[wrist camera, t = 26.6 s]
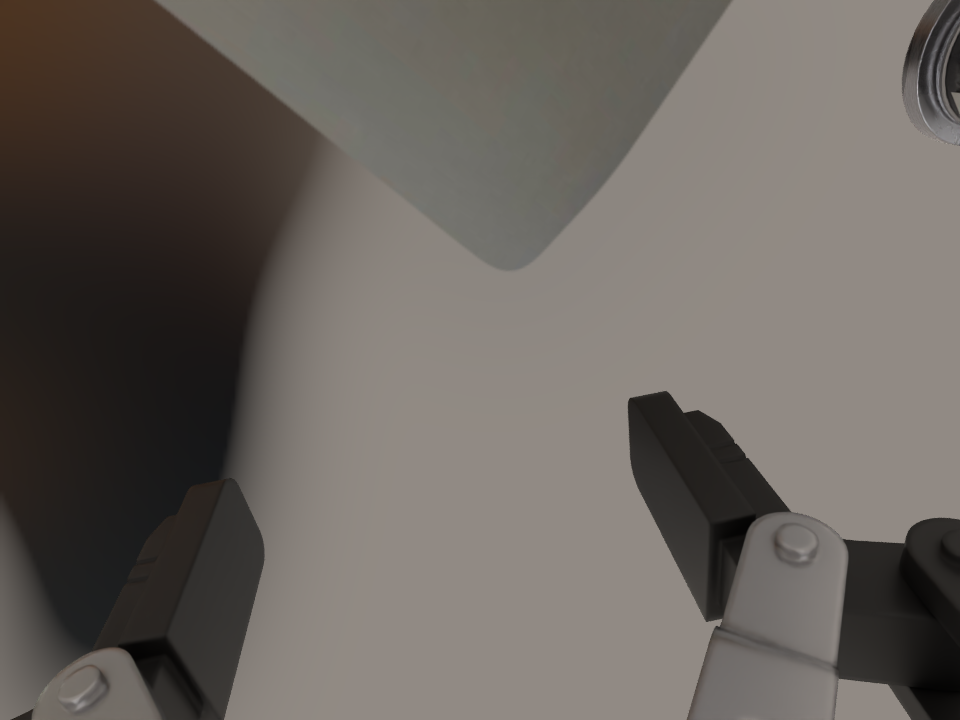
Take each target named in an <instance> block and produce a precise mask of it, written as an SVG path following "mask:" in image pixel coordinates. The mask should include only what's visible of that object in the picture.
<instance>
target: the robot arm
mask: <svg viewBox="0 0 960 720" xmlns="http://www.w3.org/2000/svg"><path fill="white" fill-rule="evenodd" d="M936 89H937V95H938V99H939V102H940V105H941V107H942V109H943V110H944V112H945V113H946V114H947V116H948V117H949V118H950V119H952V120H953V121H954V122H956V123H958V124H960V17H959V18H958V20H957V21H956V23H955V24H954V26H953V28H952V29H951V31H950V33H949V35H948V37H947V39H946V41H945V44H944V46H943V49H942V52H941V55H940V58H939V62H938V67H937V74H936ZM628 420H629V442H630V460H631V466H632V470H633V475H634V478H635V481H636V484H637V486H638V489H639V491H640V492H641V495H642V497H643V499H644V500H645V503H646V504H647V506H648V508H649V510H650V512H651V514H652V516H653V518H654V520H655V522H656V524H657V526H658V528H659V530H660V532H661V534H662V536H663V538H664V540H665V542H666V544H667V546H668V548H669V550H670V551H671V554H672V556H673V558H674V560H675V562H676V564H677V566H678V567H679V569H680V571H681V573H682V575H683V577H684V579H685V581H686V583H687V585H688V587H689V589H690V591H691V593H692V595H693V597H694V599H695V601H696V603H697V605H698V607H699V609H700V611H701V613H702V615H703V617H704V619H705V620H706V622H708V621H713V620H717V619H722V622H721V625H720V627H718V626H716V627H715V629H714V631H713V633H712V636H711V639H710V642H709V645H708V649H707V652H706V655H705V659H704V662H703V666H702V669H701V673H700V677H699V680H698V683H697V686H696V690H695V694H694V697H693V700H692V704H691V707H690V710H689V714H688V717H687V720H834V718H835V708H836V699H837V689H838V679H847V680H855V681H864V682H873V683H882V684H888V685H889V686H890V688H891V689H892V691H893V692H894V694H895V695H896V697H897V699H898V700H899V702H900V703H901V705H902V706H903V708H904V709H905V710H906V712H907V714H908V715H909V717H910V718H911V720H960V520H958V519H951V518H932V519H927V520H923V521H920V522H918V523H916V524H915V525H913V526H912V527H911V528H910V530H909V531H908V533H907V536H906V540H905V543H904V544H903V543H886V542H885V543H884V542H869V541H854V540H845V539H842V538H841V537H840V536H839V534H838V533H836V531H834V530H833V529H832V528H831V527H829V526H828V525H827V524H825V523H823V522H821V521H819V520H817V519H815V518H813V517H810V516H807V515H803V514H798V513H793V512H791V511H790V510H789V509H788V507H787V506H786V505H785V504H784V502H783V501H782V500H781V499H780V497H779V496H778V495H777V494H776V492H775V491H774V490H773V489H772V487H771V486H770V485H769V484H768V482H767V481H766V480H765V478H764V477H763V476H762V475H761V474H760V472H759V471H758V470H757V468H756V467H755V466H754V465H753V464H752V462H751V461H750V460H749V459H748V458H746V456H745V453H744V452H743V451H742V450H741V448H740V447H739V446H738V445H737V444H735V443H734V440H733V438H732V437H731V436H730V435H729V433H728V432H727V431H726V430H725V428H724V427H723V426H722V425H721V423H719V422H718V421H716V420H714V419H712V418H711V417H709V416H707V415H706V414H704V413H702V412H701V411H699V410H697V411H691V412H687V413H683V412H682V410H681V409H680V407H679V406H678V405H677V403H676V402H675V401H674V399H673V398H672V396H671V395H670V394H669V393H668V392H667V391H663V392H658V393H654V394H648V395H643V396H638V397H633V398H630V399H629V401H628ZM136 562H137V565H135V566H134V567H133V569H132V571H131V573H130V575H129V577H128V579H127V582H128V583H127V584H126V585H124V587H123V589H122V591H121V593H120V595H119V597H118V599H117V601H116V603H115V605H114V607H113V609H112V611H111V613H110V615H109V617H108V619H107V621H106V623H105V625H104V627H103V629H102V631H101V633H100V635H99V638H98V639H97V641H96V644H95V646H94V648H93V650H92V652H91V653H88V654H86V655H84V656H82V657H80V658H79V659H77V660H75V661H74V662H72V663H71V664H70V665H68V666H67V667H65V668H64V669H63V670H62V671H61V672H60V673H58V674H57V675H56V676H55V677H54V678H53V679H52V680H51V682H50V683H49V684H48V685H47V686H46V688H45V689H44V690H43V692H42V694H41V695H40V696H39V698H38V700H37V702H36V704H35V706H34V709H32V710H30V711H28V712H26V713H24V714H22V715H20V716H18V717H16V718H14V719H12V720H224V717H225V713H226V709H227V705H228V701H229V697H230V694H231V690H232V686H233V682H234V678H235V674H236V670H237V666H238V662H239V658H240V655H241V651H242V647H243V643H244V639H245V635H246V631H247V627H248V623H249V619H250V616H251V612H252V608H253V604H254V600H255V596H256V592H257V588H258V584H259V580H260V577H261V572H262V569H263V564H264V544H263V539H262V535H261V533H260V530H259V528H258V526H257V524H256V522H255V520H254V517H253V515H252V513H251V511H250V509H249V507H248V504H247V502H246V500H245V498H244V496H243V494H242V492H241V489H240V487H239V485H238V484H237V482H236V481H235V480H234V479H231V478H229V479H224V480H219V481H214V482H209V483H204V484H199V485H194V486H192V487H190V489H189V490H188V492H187V494H186V496H185V498H184V501H183V503H182V505H181V507H180V509H179V511H178V514H177V515H174V516H169V517H167V518H166V519H165V520H164V521H163V522H162V523H161V524H160V526H159V527H158V528H157V529H156V530H155V531H154V532H153V533H152V534H151V535H150V536H149V537H148V538H147V540H146V542H145V544H144V546H143V548H142V551H141V553H140V555H139V557H138V559H137V561H136Z"/></svg>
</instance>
